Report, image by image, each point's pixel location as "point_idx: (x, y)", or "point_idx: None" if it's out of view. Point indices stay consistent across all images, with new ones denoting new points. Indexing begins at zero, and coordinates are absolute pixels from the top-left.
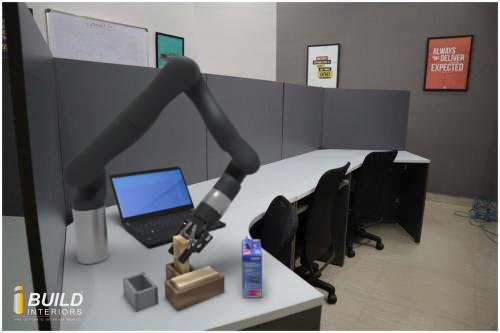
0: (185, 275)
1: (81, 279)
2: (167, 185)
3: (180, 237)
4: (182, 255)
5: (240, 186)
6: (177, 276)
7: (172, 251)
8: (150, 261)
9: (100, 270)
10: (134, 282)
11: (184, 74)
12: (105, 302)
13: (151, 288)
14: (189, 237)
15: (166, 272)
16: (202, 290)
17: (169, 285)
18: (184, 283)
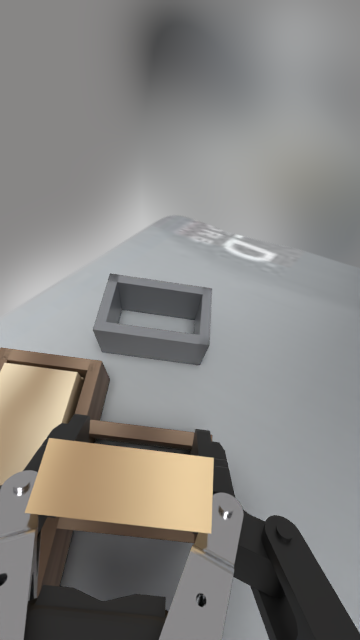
0: (45, 429)
1: (325, 280)
2: None
3: (155, 501)
4: (62, 436)
5: None
6: (99, 421)
7: (194, 453)
8: (352, 465)
9: (353, 323)
10: (198, 321)
11: None
12: (198, 277)
13: (100, 313)
14: (30, 547)
15: None
16: None
17: (66, 358)
18: (4, 389)
